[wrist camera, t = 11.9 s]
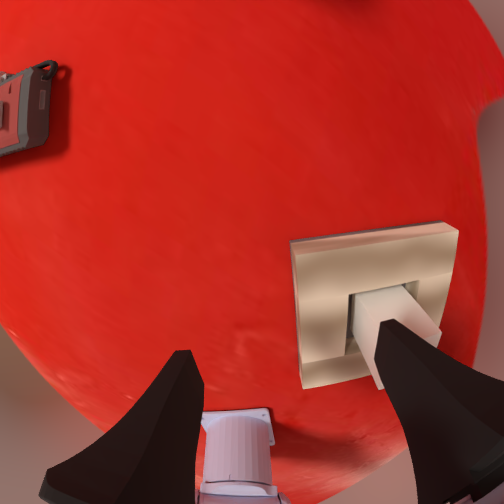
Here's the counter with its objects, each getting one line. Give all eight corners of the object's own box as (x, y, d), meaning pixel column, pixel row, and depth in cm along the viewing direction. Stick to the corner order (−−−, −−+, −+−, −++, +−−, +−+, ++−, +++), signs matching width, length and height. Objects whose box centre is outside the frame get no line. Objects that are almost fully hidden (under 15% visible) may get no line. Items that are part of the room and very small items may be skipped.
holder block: (418, 341, 24) (429, 356, 21) (298, 369, 24) (303, 389, 22) (440, 220, 19) (458, 230, 16) (289, 240, 19) (295, 255, 17)
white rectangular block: (391, 319, 22) (426, 373, 15) (350, 328, 22) (378, 389, 15) (396, 279, 20) (442, 332, 14) (352, 288, 20) (389, 349, 14)
